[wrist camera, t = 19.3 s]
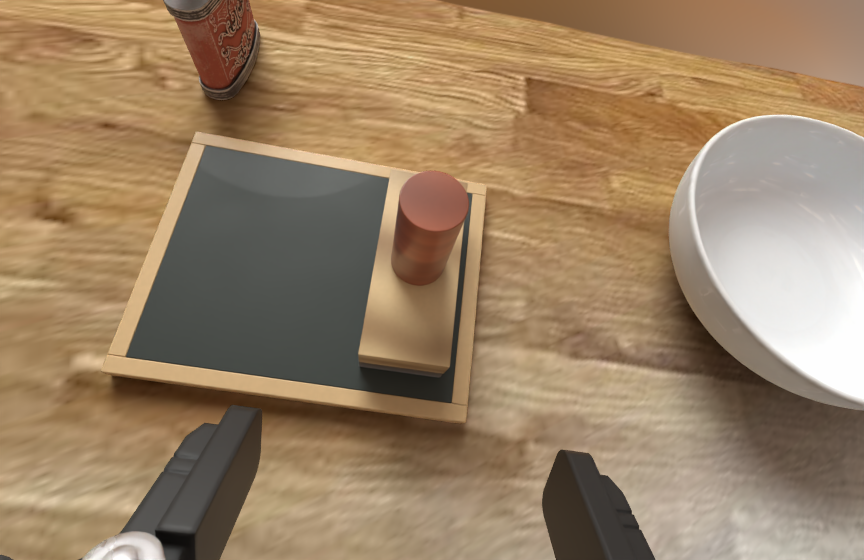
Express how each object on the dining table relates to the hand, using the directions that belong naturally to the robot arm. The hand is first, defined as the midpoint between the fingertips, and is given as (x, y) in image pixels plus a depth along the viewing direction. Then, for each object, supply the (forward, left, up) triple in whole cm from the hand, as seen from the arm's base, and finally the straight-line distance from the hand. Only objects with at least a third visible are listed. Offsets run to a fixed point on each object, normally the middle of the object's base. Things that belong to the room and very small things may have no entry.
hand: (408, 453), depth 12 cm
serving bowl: (+17, +26, -16) cm, 35 cm away
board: (-10, +7, -16) cm, 20 cm away
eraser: (-5, +10, -15) cm, 18 cm away
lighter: (-27, +18, -16) cm, 36 cm away
